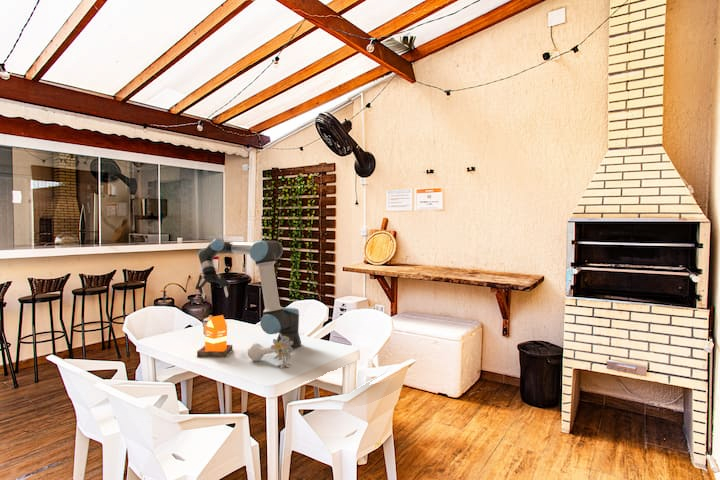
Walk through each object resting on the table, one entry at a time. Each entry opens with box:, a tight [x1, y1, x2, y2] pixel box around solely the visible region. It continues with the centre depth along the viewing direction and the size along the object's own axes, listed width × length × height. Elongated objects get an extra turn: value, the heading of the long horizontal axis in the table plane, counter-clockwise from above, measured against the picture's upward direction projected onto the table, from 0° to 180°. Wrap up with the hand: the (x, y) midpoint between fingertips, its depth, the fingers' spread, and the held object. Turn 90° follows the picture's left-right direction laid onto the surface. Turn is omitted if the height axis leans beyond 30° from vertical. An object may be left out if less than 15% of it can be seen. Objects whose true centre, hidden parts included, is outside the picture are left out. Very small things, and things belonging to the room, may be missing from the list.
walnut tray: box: [196, 344, 233, 358], centre depth 233 cm, size 15×14×3 cm
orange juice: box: [204, 314, 228, 351], centre depth 233 cm, size 8×9×20 cm
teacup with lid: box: [202, 314, 213, 335], centre depth 280 cm, size 12×9×12 cm
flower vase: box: [247, 333, 295, 369], centre depth 218 cm, size 13×18×25 cm
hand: (215, 296), depth 247 cm, fingers open, 13 cm apart
